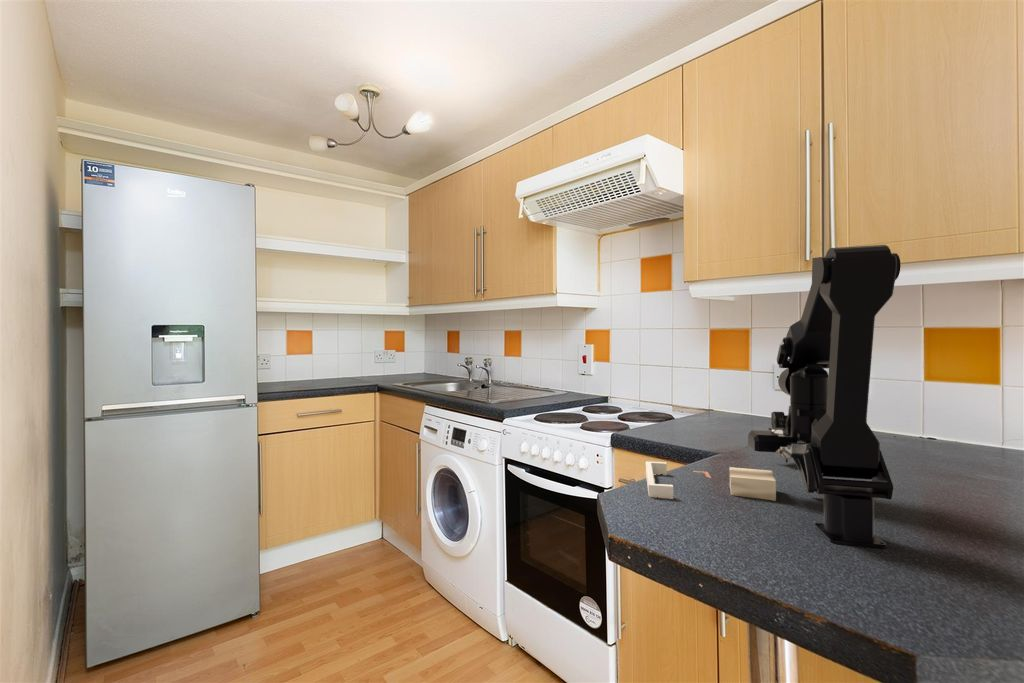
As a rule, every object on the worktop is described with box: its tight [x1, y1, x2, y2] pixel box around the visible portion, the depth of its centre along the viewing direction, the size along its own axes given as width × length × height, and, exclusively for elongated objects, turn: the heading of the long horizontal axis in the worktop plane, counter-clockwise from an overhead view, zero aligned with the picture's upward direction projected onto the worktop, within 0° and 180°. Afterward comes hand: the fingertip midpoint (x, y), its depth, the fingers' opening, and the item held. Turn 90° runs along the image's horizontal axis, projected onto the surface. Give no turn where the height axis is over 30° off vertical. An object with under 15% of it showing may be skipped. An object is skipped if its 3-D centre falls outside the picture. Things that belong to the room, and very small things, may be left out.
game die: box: [767, 427, 804, 464], centre depth 109 cm, size 9×8×10 cm
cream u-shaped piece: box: [645, 461, 674, 500], centre depth 91 cm, size 17×4×3 cm, turn 166°
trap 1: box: [693, 470, 712, 479], centre depth 99 cm, size 5×8×1 cm, turn 76°
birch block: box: [729, 466, 777, 502], centre depth 87 cm, size 7×7×4 cm
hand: (810, 492), depth 85 cm, fingers closed
